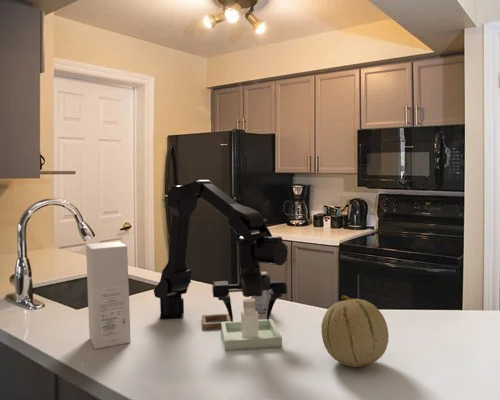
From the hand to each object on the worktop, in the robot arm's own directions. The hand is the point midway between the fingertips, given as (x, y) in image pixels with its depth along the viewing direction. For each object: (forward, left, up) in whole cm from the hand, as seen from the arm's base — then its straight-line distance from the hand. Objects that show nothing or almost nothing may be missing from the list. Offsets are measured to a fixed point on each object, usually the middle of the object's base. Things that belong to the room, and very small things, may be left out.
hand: (249, 320), depth 118 cm
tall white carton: (-36, +5, -5) cm, 37 cm away
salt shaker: (0, 0, -4) cm, 4 cm away
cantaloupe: (+21, -19, -5) cm, 29 cm away
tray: (0, 0, -5) cm, 5 cm away
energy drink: (+6, +23, -5) cm, 24 cm away
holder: (-8, +13, -5) cm, 16 cm away
